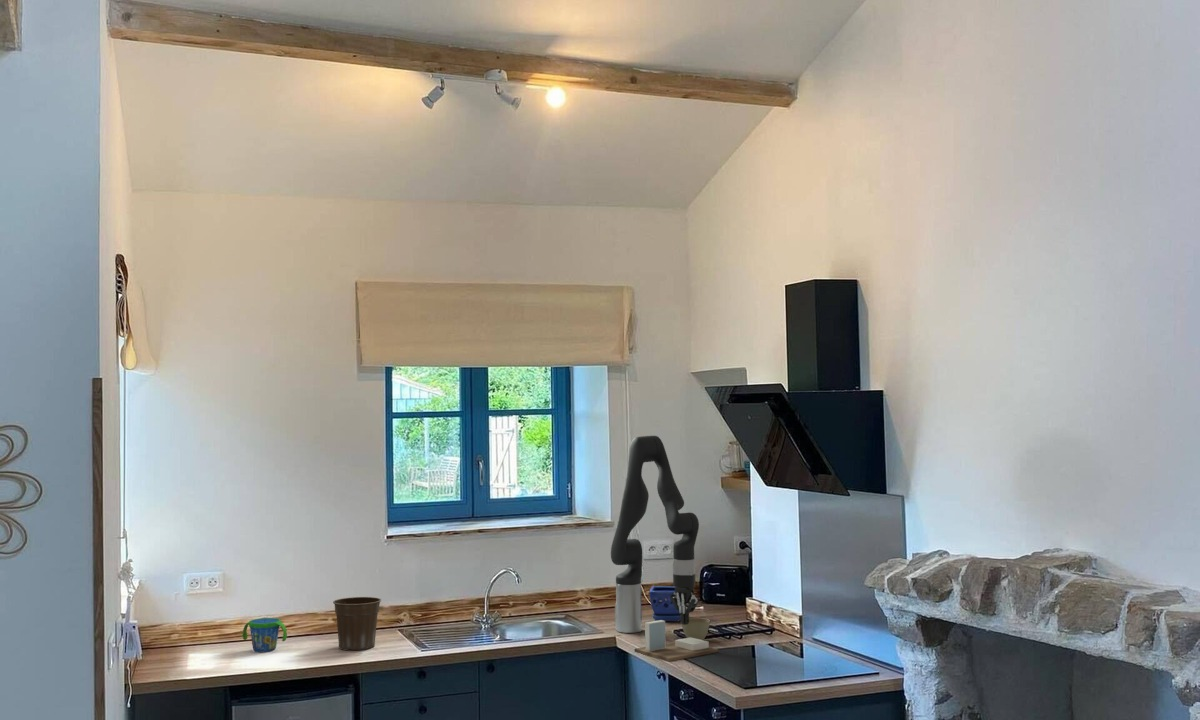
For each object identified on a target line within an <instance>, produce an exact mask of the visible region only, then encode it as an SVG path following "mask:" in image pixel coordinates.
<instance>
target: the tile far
mask: <svg viewBox="0 0 1200 720" xmlns="http://www.w3.org/2000/svg"><path fill="white" fill-rule="evenodd" d="M674 642H675V646H676V647H680V648H684V649H688V650H692V651H695V650H700V649H706V648H709V647H710V645H709V644H710V643H709V641H708V640H705V639H704V640H700V639H696V638H692V637H690V638H686V637H684V638H680V639H679V638H678V639H675V640H674Z"/></svg>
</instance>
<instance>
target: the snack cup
mask: <svg viewBox="0 0 1200 720" xmlns="http://www.w3.org/2000/svg"><path fill="white" fill-rule="evenodd" d="M248 627H249V630H250V637H251V644H252V645H251V646H252V650H253V651H254V652H257V653H263V652H264V653H266V652H273V651H275V649H276V648H277V644H278V639H279V638H278V637H279V631H280V628H281V631H282V632H283V633H282V639H281V642H285V641H286V640H287V637H288V633H287V628H286V625H285V623H283V622H282V620H281V619H280V618H277V617H264V618H263V617H262V618H255V619H251V620H249V621H248V622H246V623H245V624H244V627H243V630H242V639H243V640H244V641H246V640H247V639H248Z"/></svg>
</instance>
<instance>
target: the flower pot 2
mask: <svg viewBox="0 0 1200 720" xmlns="http://www.w3.org/2000/svg"><path fill="white" fill-rule="evenodd" d="M710 623H711V620H710V619H709V618H705V617H689V624H687V625H683V624H681V628H682V631H683V633H684V636H685V638H690V637H692V638H696V639H700V640H704V641H705V638H706V636H707V634H708V633H709V632H708V631H709V628H710Z"/></svg>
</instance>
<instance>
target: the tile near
mask: <svg viewBox="0 0 1200 720" xmlns="http://www.w3.org/2000/svg"><path fill="white" fill-rule="evenodd" d="M644 632H645V633H644V634H645V635H644V636H645V637H644V638H645V639H644V641H645V642H644V643H645V644H644V645H645V646H644V647H645V650H647V651H653V650H659V649H664V648H666V643H667V642H666V621H664V620H658V621H655V620H653V621H647V622H644Z"/></svg>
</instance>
